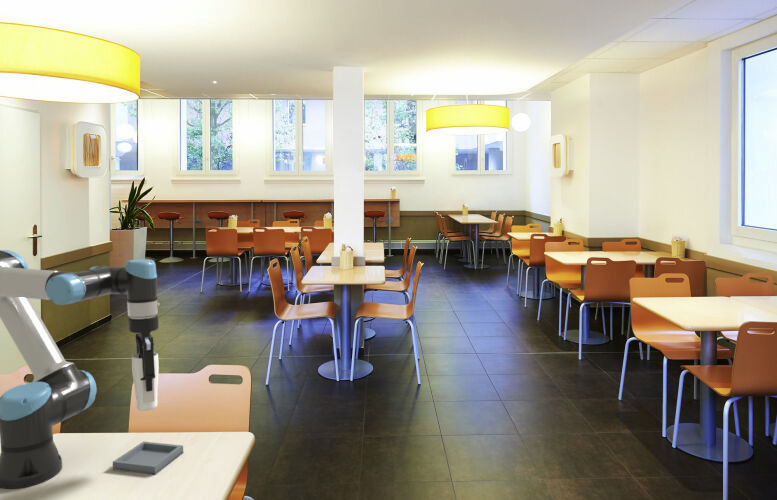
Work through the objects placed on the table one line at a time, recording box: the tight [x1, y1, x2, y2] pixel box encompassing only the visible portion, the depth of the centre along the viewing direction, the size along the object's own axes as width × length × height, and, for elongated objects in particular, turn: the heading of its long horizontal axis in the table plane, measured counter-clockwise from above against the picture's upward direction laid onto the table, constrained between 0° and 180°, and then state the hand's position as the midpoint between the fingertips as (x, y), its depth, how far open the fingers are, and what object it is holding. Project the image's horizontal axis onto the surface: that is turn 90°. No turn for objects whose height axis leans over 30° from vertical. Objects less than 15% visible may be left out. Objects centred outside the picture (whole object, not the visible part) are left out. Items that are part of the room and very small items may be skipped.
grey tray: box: [112, 441, 184, 475], centre depth 154 cm, size 13×13×2 cm
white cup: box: [131, 351, 160, 412], centre depth 153 cm, size 7×7×15 cm
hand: (146, 397), depth 153 cm, fingers closed on white cup, 6 cm apart
